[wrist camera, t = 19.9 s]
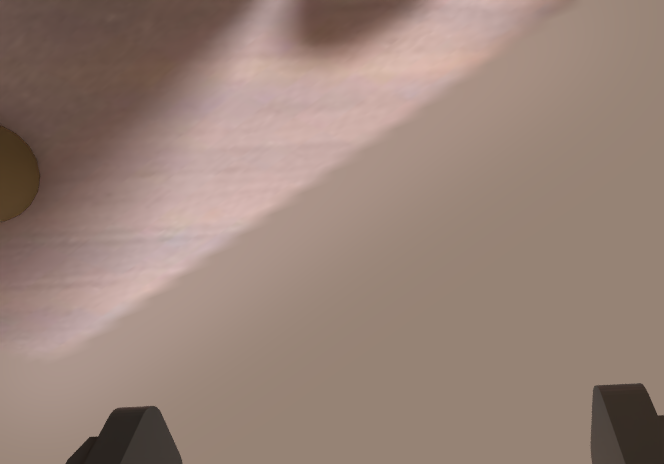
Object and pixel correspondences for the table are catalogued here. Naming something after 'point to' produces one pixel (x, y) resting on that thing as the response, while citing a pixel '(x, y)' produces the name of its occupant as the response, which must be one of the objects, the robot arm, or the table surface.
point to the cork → (16, 175)
